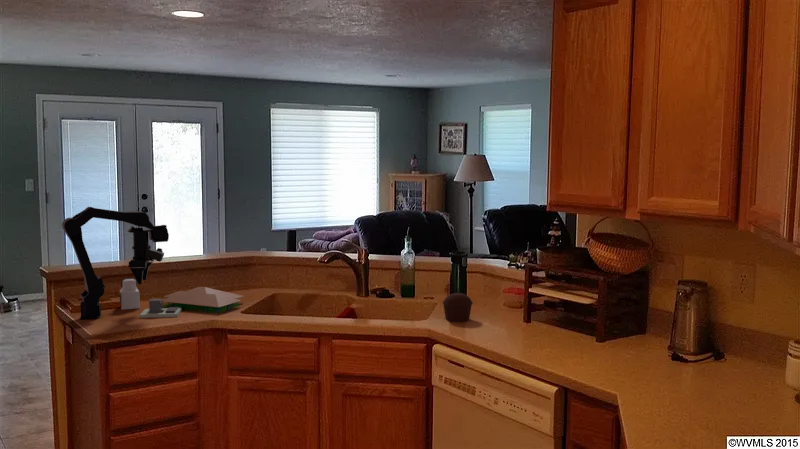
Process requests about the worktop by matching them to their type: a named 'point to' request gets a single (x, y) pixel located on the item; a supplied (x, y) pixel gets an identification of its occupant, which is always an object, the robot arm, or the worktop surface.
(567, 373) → the worktop surface
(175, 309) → the plate
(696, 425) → the worktop surface
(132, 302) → the medicine bottle
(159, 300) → the block
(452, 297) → the muffin
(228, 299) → the house
